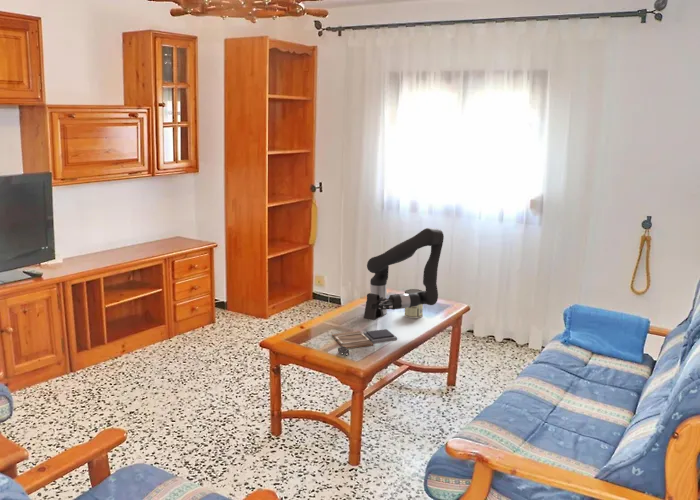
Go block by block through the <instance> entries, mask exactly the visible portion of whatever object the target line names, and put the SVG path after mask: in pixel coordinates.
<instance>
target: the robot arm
mask: <svg viewBox="0 0 700 500" xmlns="http://www.w3.org/2000/svg"><path fill="white" fill-rule="evenodd" d="M444 239H445V238H444V232H443V231H442V230H441V229H439V228H435V227H434V228H433V227H427V228H424V229H422V230H421V231H419V232H418V233H417V234H415V235H414V236H412V237H410V238H408V239H406V240H404V241H402V242H400V243H398V244H396V245H395V246H393V247H391V248H390V249H388V250H387V251H385V252H383V253H381V254H379V255H377V256H373V257H371V258H369V259H368V261H367V264H366V268H367V270H368V271H369V272H370V273H372V274H374V275H373V276H372V277H371V278H370V280H369V281H370V283H369V284H370V291H369V293H371V294H377V295H379V296H380V303H379V304H371V309H375V308H378V309H381V310H383V314H384V315H386V314H387V310H393V311H394V310H401V309H405V308H407V307H414V306H418V305H420V304H423V305H426V306H427V305H428V306H434V305H436V303H437V302H438V299H439V292H438V284H437V283H438V269H439V261H440V257H441V254H442V248H443V245H444ZM428 246H429V247H430V253H429V254H430V255H429V256H428V259H427V261H426V264H425V266H424V268H423V276H422V284H423V286H424V287H425V290H422V291H420V292H416V293H408V294H405V293H395V294H390V295H389V296H388V295H387V294H388V293H387V289H388V288H387V286H388V284H387V283H388V279H389V266H391V265H395V264H397V263H400V262H401V263H402V262H404V261H405V260H408V259H410V258H411V257H413V256H414V254H416V251H418V250H419V249H422V248H424V247H428ZM387 296H388V297H387ZM366 302H367V300H366V301H365V303H366Z"/></svg>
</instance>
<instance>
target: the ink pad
mask: <svg viewBox="0 0 700 500" xmlns="http://www.w3.org/2000/svg"><path fill="white" fill-rule="evenodd" d="M363 334H364V335H365V336H366V337H367V338H368V339H369V340H370V341H371V342H372V343H373V344H374V343H381V342H382V343H384V342H389V341H390V342H391V341H397V340H398V337H397V336H396V335H395V334H393V333H392V332H391V331H390V330H389V329H387V328H385V329H377V330H368V331H364V332H363Z"/></svg>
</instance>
